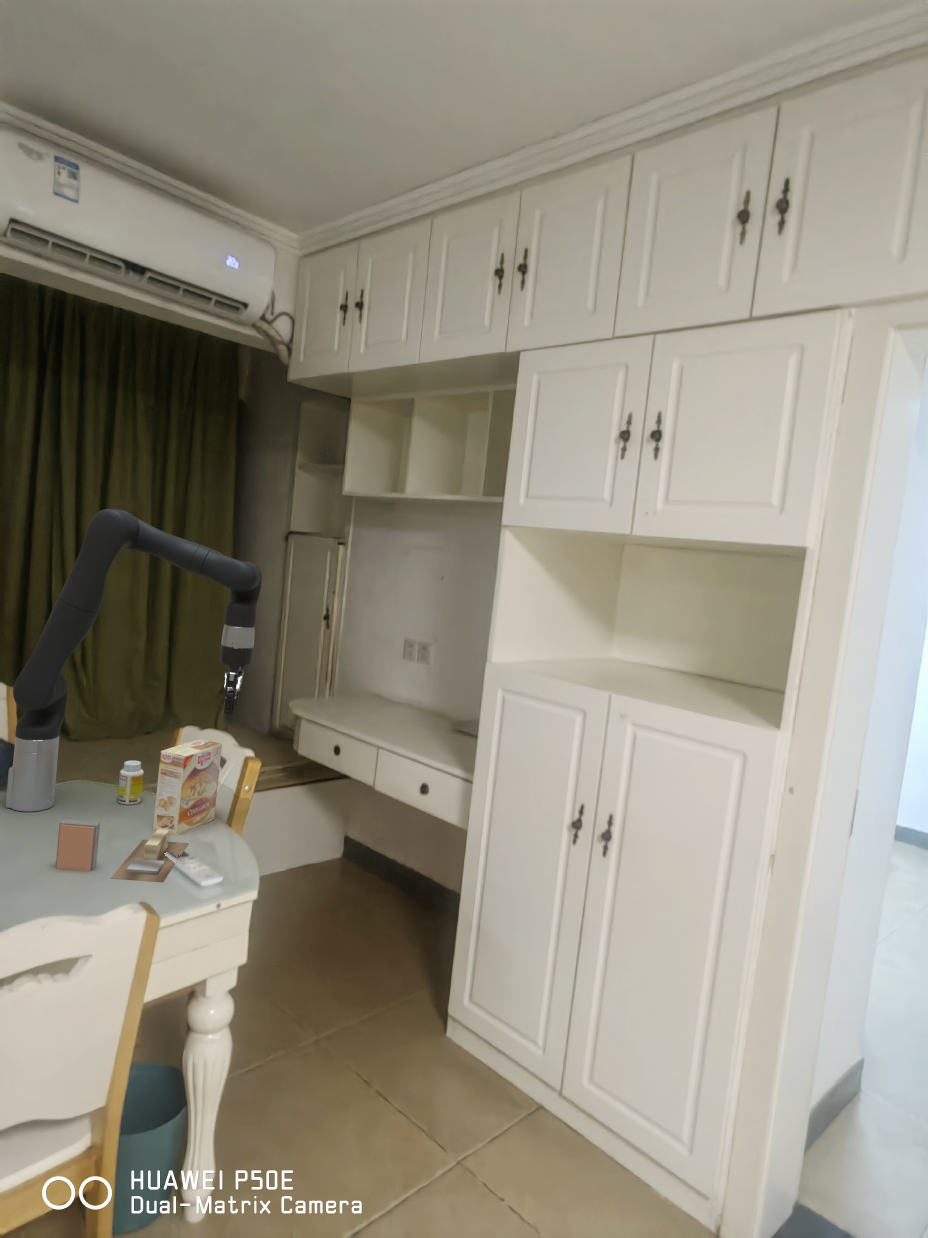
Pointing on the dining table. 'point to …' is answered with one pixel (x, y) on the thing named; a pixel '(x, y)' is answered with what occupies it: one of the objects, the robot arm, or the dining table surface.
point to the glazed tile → (77, 845)
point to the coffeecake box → (187, 786)
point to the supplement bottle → (130, 783)
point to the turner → (151, 854)
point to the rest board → (138, 853)
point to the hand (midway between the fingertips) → (230, 710)
